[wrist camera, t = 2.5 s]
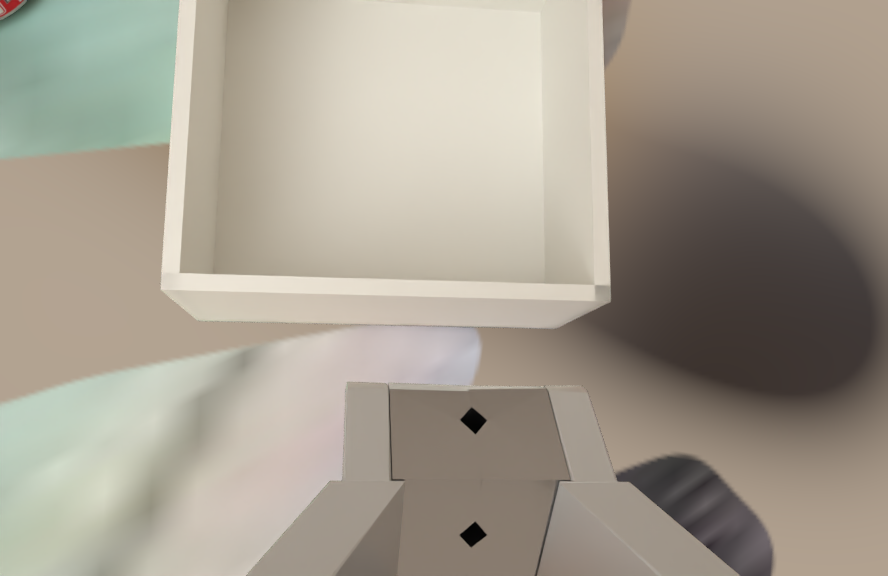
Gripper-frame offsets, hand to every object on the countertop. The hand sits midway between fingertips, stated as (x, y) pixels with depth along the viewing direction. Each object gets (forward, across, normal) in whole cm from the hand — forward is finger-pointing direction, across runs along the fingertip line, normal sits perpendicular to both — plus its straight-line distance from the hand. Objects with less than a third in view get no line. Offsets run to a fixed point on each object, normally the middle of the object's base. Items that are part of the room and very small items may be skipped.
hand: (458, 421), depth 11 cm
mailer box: (+28, 0, +10) cm, 30 cm away
